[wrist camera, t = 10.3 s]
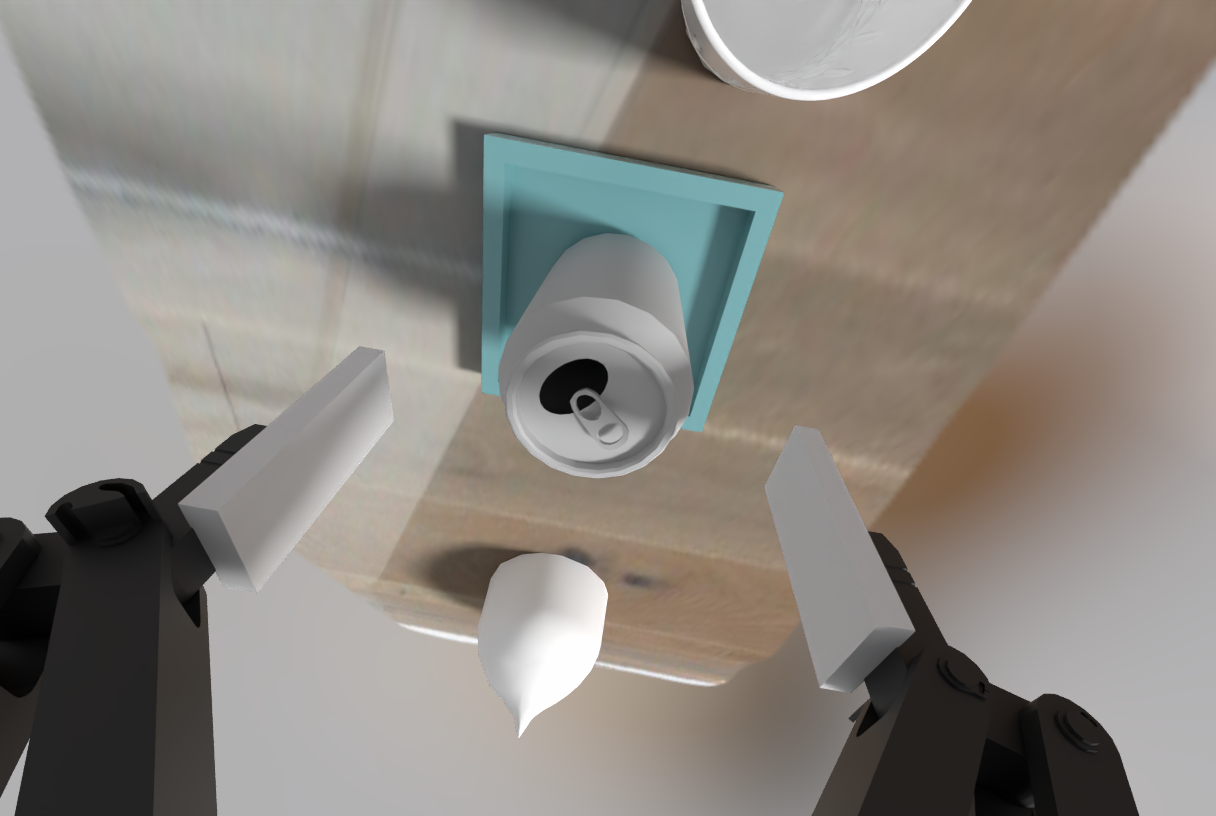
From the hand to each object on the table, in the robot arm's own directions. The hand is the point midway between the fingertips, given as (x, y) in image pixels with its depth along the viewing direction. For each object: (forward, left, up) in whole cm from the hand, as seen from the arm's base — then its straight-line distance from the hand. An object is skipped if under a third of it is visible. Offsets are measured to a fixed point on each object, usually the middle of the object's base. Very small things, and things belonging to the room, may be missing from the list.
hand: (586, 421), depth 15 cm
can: (0, 0, -13) cm, 13 cm away
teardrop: (+30, -1, -14) cm, 33 cm away
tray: (0, 0, -14) cm, 14 cm away
